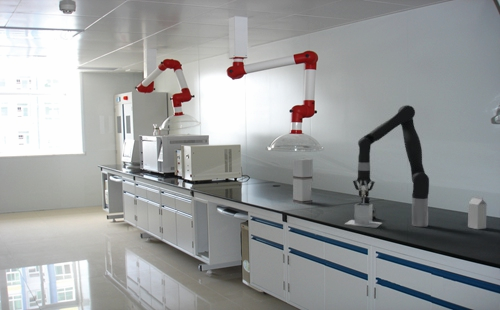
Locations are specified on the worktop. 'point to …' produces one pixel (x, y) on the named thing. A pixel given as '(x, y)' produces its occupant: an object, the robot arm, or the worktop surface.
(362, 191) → the plunger
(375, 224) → the tray
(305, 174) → the grey banded column
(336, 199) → the worktop surface
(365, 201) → the scope
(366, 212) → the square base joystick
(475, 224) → the milk carton
